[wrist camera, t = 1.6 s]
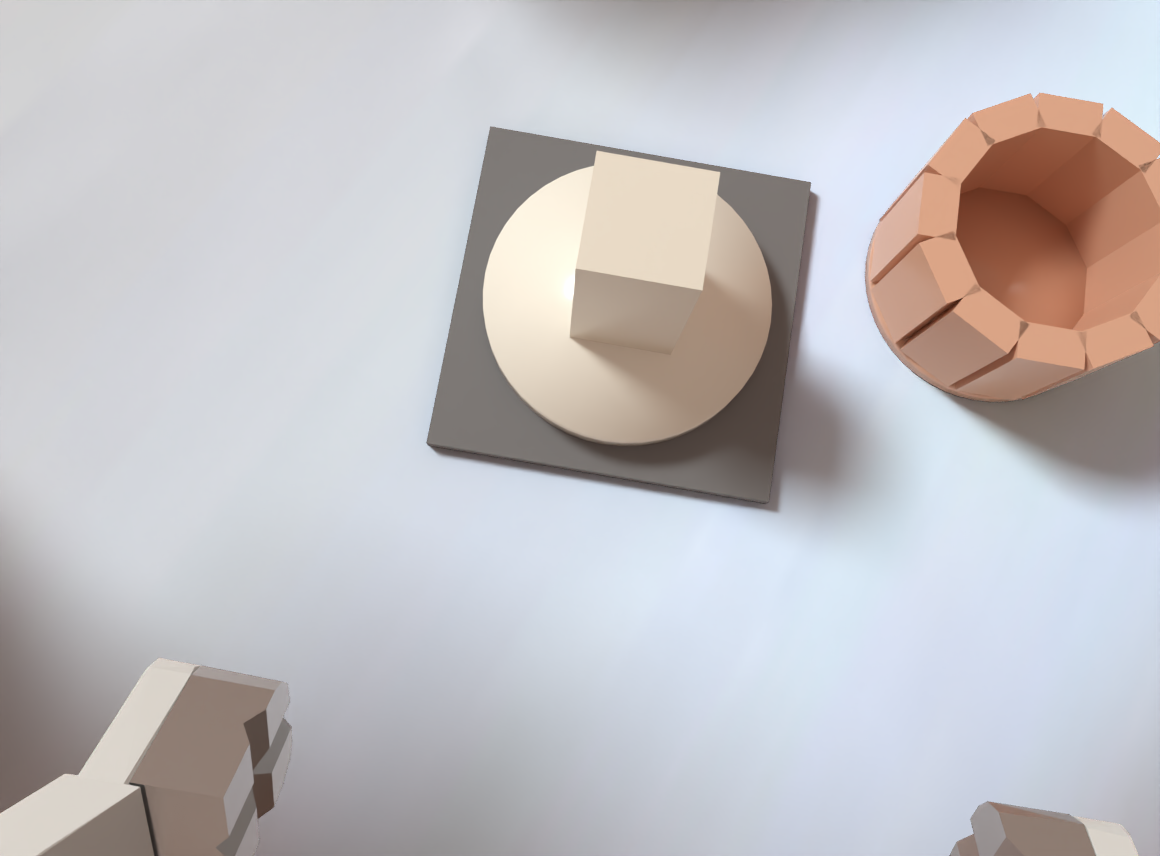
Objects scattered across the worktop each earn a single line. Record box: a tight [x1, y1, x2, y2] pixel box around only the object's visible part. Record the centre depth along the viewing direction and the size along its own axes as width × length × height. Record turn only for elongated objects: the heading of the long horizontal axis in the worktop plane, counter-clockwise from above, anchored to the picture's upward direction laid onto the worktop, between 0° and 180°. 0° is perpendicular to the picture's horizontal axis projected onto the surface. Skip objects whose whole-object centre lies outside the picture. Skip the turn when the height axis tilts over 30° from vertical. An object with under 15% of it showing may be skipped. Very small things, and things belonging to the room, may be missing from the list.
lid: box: [483, 151, 772, 446], centre depth 30 cm, size 10×10×8 cm
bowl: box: [865, 93, 1160, 402], centre depth 33 cm, size 9×9×5 cm
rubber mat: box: [427, 127, 811, 503], centre depth 35 cm, size 12×12×1 cm
